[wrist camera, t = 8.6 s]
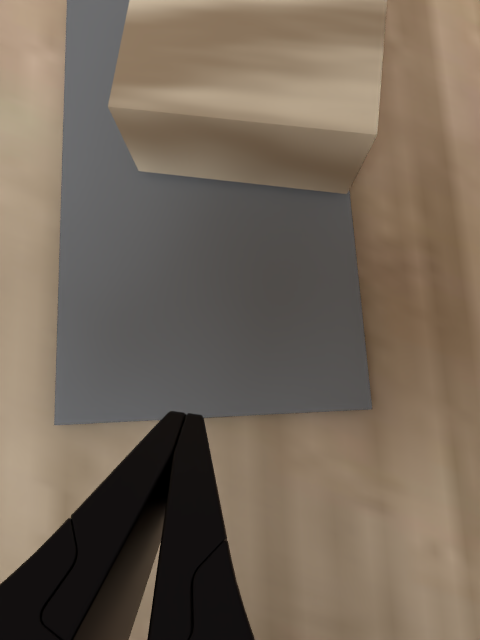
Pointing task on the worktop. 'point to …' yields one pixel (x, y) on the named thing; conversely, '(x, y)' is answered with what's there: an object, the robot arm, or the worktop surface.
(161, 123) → the maple block
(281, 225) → the rubber mat
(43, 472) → the worktop surface
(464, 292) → the worktop surface
